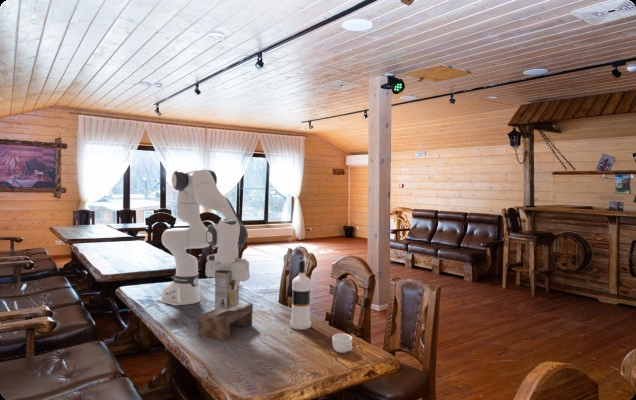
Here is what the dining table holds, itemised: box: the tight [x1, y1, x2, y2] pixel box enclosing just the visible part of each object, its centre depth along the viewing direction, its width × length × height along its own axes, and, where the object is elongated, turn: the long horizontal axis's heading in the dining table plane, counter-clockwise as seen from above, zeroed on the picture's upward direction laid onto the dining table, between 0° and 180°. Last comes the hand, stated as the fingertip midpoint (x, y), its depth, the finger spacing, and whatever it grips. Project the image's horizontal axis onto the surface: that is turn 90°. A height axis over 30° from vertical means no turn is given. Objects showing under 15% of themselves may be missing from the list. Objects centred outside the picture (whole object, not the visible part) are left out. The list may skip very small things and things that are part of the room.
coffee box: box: [214, 270, 240, 310], centre depth 181 cm, size 9×6×16 cm
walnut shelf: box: [197, 303, 254, 342], centre depth 181 cm, size 14×20×10 cm
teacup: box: [331, 333, 353, 354], centre depth 162 cm, size 10×8×5 cm
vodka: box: [289, 260, 312, 331], centre depth 188 cm, size 9×9×30 cm
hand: (227, 289), depth 181 cm, fingers closed on coffee box, 6 cm apart
